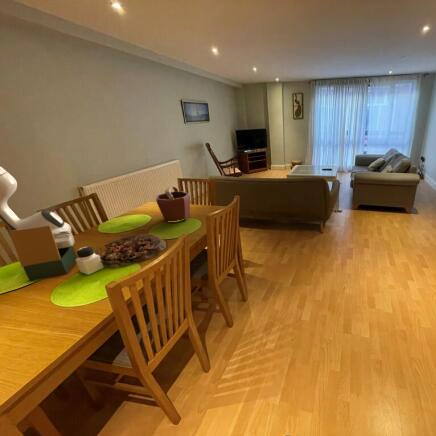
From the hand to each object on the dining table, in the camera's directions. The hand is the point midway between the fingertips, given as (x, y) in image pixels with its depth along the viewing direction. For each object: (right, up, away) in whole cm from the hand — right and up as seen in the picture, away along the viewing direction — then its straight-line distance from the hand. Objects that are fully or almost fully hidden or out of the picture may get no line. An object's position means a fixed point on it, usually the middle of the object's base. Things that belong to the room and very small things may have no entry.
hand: (39, 252), depth 110 cm
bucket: (+29, +15, +72) cm, 79 cm away
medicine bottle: (+16, -10, +10) cm, 22 cm away
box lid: (0, +3, -1) cm, 3 cm away
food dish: (+26, -4, +26) cm, 37 cm away
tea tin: (-3, -10, +10) cm, 14 cm away
